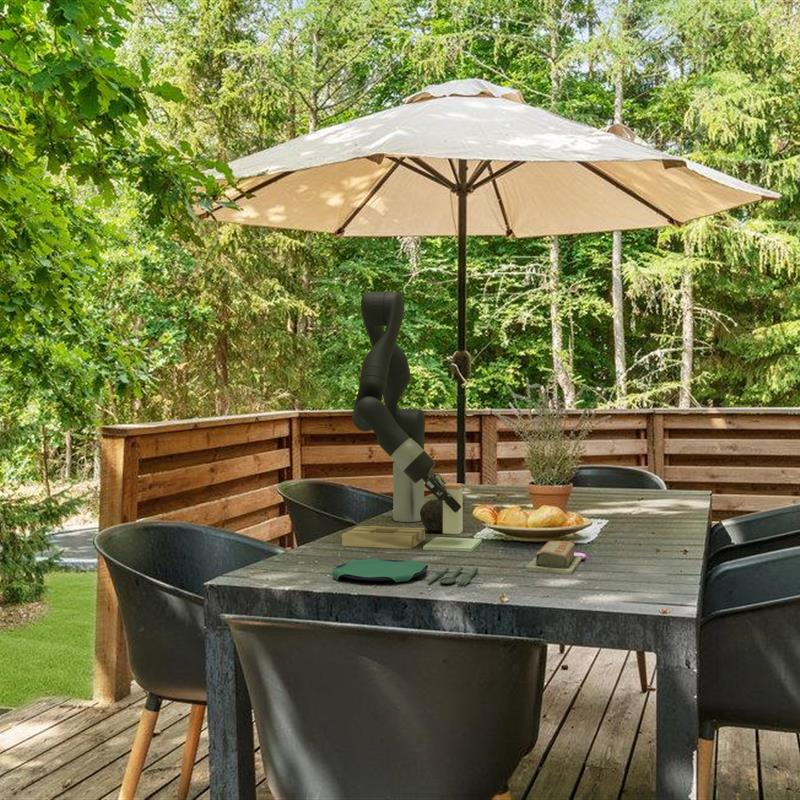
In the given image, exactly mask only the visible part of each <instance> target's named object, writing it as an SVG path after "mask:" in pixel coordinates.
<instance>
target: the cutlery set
mask: <svg viewBox="0 0 800 800" xmlns="http://www.w3.org/2000/svg"><path fill="white" fill-rule="evenodd" d="M427 570H428V564H426V563H423V562H421V561H416V560H398V559H379V558H366V559H365V558H364V559H358V560H355V559H354V560H349V561H348V562H344V563H342V564H340V565H337V566H336V567H335V568H334V569H332V571H331V572H332V577H333V578H334V579H335V580H336V581H339V577H343V578H347V579H352V580H360V581H371V582H373V581H375V582H376V581H377V582H381V581H382V582H383V581H384V582H385V581H394V582H395V583H400V582H409V581H410V580H411V579H413V578H417V577H419V576H421V575H424V574H425V573H427ZM446 571H447V572H448V571H450V568H449V567H445V569H443V570H442V571H438V572H436V573H435V575H434V576H432V577H431V578H429V579H428V581H427V583H429V584H432V583H433V582H434V581H436V580H437V579H439V582H440V583H441V584H443V585H451V584H454V583H456V581H457V577H455V576H457V575H458V574H459V573H461V572H462V571H464V567H463V566H458V568H457V569H456V570H454V571H453V574H452V575H451V576H445V577H443V575H444V573H446ZM478 572H479V567H474V568H473V569H472V571H471V572H470V573H469V574H466V575H464V576H461V578H460V580H459V581H458V582H457V585H458V586H459V585H460V586H466V585H467V584H469V583H470V582H471V581H472V578H473V577H474V576H475V574H477V573H478ZM457 585H456V586H457Z"/></svg>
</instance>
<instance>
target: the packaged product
mask: <svg viewBox="0 0 800 800" xmlns="http://www.w3.org/2000/svg"><path fill="white" fill-rule="evenodd" d="M575 549H576V544H575V543H574V542H571V541H568V540H567V541H565V540H548V541H547V542H546V543H545V544H544V545H543V546H542V547H541V548H540V549H539V550H537V552H536V553H535V557H534V558H533V559H531V561H530V562H529V563H528V564H527V565H525V571H526V572H527V573H541V574H559V575H560V574H561V575H572V574H573V572H574V571H575V569H576V568H578V566H579V564H580V563H581V561H582V559H583V555H575Z"/></svg>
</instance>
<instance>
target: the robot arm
mask: <svg viewBox="0 0 800 800" xmlns="http://www.w3.org/2000/svg"><path fill="white" fill-rule="evenodd" d="M360 299H361V300H360V310H361V311H360V312H361V315H362V320H363V324H364V328H365V330H366V333H367V336H368V339H369V341H370V346H371V349H370V350H369V351H368V353H367V354H366V356H365V358H364V359H363V362H362V365H361V370H360V376H359V384H358V391H357V395H356V398H355V401H354V402H355V403H354V407H353V410H352V423H353V425H354V426H355V428H356V429H357V430H358V431H361V432H371V431H372V432H373V433H374V434H375V436H376V438H377V439H376V440H377V444H378V446H379V447H380V448H381V449H382V450H383V451H384V452H385V454H387V455H388V456H389V457H390V458H391V459H392V476H393V477H392V483H393V485H392V488H393V489H392V495H393V498H392V501H393V503H392V504H393V505H392V506H393V507H392V508H393V509H392V511H393V512H392V515H393V517H392V520H393V521H395V522H402V523H406V522H407V523H412V522H413V523H415V522H422V521H421V516H420V510H421V508H422V506H423V505H424V504H425V488H426V489H427V490H429V492H430V493H431V494H432V495H434V496H435V497H436V499H439V501H441V502H445V503H446V504H447V505H448V506H449V507H450V508H451V509H452V510H453V511H454V512H457V511H458V510H459V509H460V508H461V505H460V504H459V503H458V502H457V501H456V500H455V499H454V498H453V497H452V496H451V495H450V493H449V492H448V491H447V490H446V486H445V485H444V484H447V483H448V482H447V481H446V480H445V479H444V478H443V476H442V475H441V474H440V473H438V472H437V473H436V472H434V471H433V470H432V469H433V468H434V467H435V466H436V464H437V463H436V461H435V460H434V459H433V458H432V456H430V454H428V453H427V452H426V451H425V432H426V418H425V417H426V416H425V413H424V411H423V410H422V409H421V408H420V409H419V408H400V407H398V403H399V401H400V399H401V397H402V396H403V393H404V392H405V391H406V389H407V387H408V385H409V383H410V380H411V372H410V371H411V370H410V366H409V360H408V357H407V354H405V352H404V350H402V348H401V347H400V346H399V345H398V344H397V340H398V337H399V335H400V334H399V333H400V330H401V326H402V325H403V324H402V323H403V320H404V314H405V302H404V298H403V296H402V294H401V293H400V292H398V291H369V292H368V291H367V292H365V293H364V294H363V295H362V296H361V298H360ZM384 327H385V329H384ZM382 400H383V402H382ZM450 496H451V497H450ZM464 503H465V502H463V506H464V505H465V504H464Z"/></svg>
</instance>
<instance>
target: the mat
mask: <svg viewBox="0 0 800 800" xmlns="http://www.w3.org/2000/svg"><path fill="white" fill-rule="evenodd" d="M481 543H482V538H468V537H467V538H464V537H441V536H439V537H438V536H435V538H432V539H431V540H430V541H429V542H427V543H426V544H425V545H423V547H422V550H424V551H445V552H446V551H447V552H448V551H450V552H470V553H471V552H472V551H474V550H475V549H476V548H477V547H478V546H479V545H480V544H481Z"/></svg>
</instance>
